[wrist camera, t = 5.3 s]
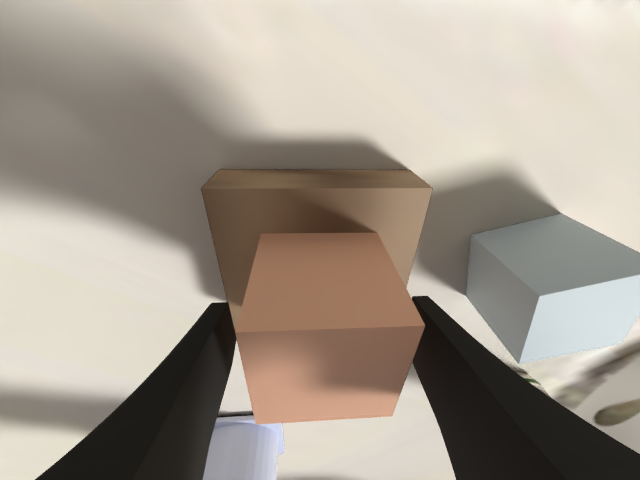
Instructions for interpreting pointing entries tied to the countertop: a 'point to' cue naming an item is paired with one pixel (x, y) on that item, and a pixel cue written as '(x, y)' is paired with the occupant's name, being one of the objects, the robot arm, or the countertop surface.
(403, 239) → the walnut slab
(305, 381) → the terracotta cube
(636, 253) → the slate cube
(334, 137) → the countertop surface
